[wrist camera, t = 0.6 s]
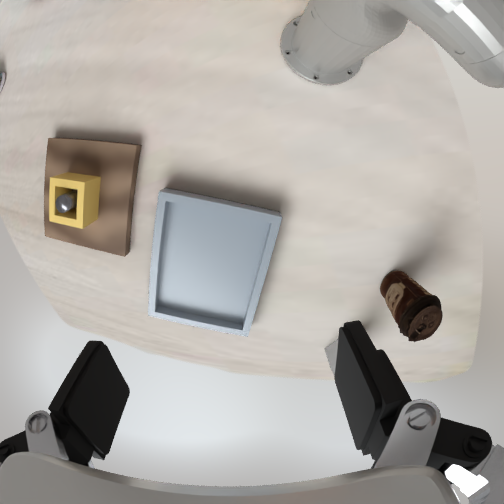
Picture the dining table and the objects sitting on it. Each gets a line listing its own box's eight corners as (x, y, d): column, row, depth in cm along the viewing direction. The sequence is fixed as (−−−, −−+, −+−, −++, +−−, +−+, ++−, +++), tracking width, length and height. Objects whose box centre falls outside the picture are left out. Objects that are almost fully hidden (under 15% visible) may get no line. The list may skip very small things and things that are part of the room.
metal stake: (76, 186, 38) (55, 194, 32) (88, 188, 38) (68, 196, 32) (75, 201, 39) (55, 211, 33) (87, 204, 39) (68, 214, 33)
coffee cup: (373, 308, 50) (400, 351, 38) (372, 271, 46) (405, 311, 34) (410, 296, 49) (442, 335, 37) (412, 260, 46) (450, 295, 34)
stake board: (54, 137, 36) (48, 138, 34) (141, 145, 38) (136, 145, 36) (50, 232, 42) (45, 236, 41) (129, 252, 44) (125, 256, 42)
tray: (164, 187, 40) (159, 191, 38) (279, 212, 42) (282, 217, 39) (152, 306, 48) (148, 315, 46) (247, 326, 50) (247, 336, 48)
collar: (67, 172, 37) (50, 177, 32) (100, 176, 37) (84, 182, 33) (65, 212, 39) (49, 221, 34) (97, 219, 40) (82, 228, 35)
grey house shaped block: (324, 348, 53) (335, 384, 44) (350, 329, 51) (366, 363, 42) (334, 356, 54) (345, 391, 45) (359, 337, 52) (375, 371, 43)
